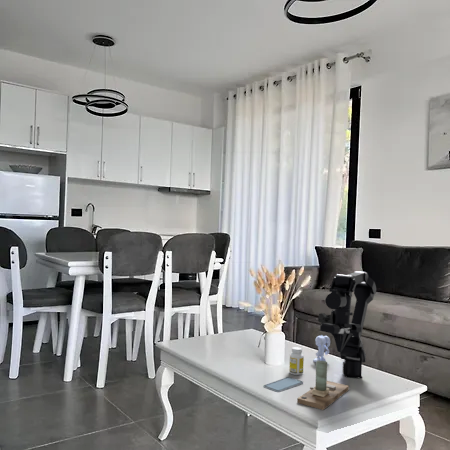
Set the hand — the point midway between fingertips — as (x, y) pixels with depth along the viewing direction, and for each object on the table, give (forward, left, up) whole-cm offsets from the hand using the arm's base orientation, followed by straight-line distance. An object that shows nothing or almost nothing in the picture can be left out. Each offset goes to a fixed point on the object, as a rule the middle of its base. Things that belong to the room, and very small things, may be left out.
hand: (339, 351), depth 167 cm
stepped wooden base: (+6, +11, -13) cm, 18 cm away
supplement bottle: (+15, -12, -13) cm, 23 cm away
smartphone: (+20, +3, -13) cm, 24 cm away
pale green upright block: (+8, +14, -11) cm, 20 cm away
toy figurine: (+4, -30, -13) cm, 33 cm away
